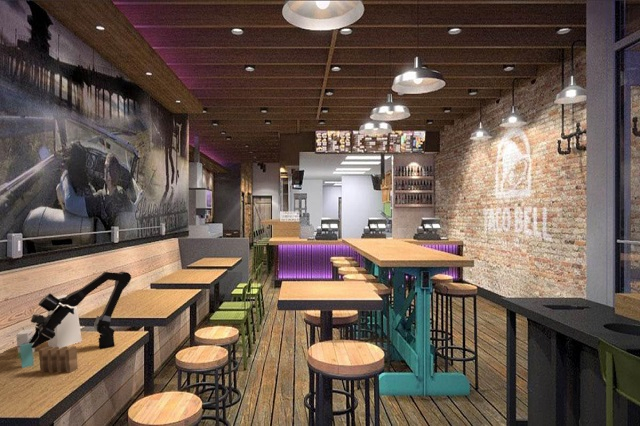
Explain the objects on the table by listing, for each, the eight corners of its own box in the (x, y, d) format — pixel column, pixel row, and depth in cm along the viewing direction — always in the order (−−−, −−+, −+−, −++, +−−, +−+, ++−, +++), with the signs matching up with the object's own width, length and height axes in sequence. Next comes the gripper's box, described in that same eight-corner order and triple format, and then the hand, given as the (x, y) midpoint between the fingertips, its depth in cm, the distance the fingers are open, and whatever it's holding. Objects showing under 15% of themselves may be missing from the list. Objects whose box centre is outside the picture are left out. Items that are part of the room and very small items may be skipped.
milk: (71, 339, 231) (68, 292, 231) (81, 341, 225) (78, 294, 224) (48, 345, 222) (44, 297, 221) (57, 348, 215) (53, 298, 215)
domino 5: (67, 372, 179) (65, 349, 179) (74, 368, 183) (72, 346, 183) (70, 372, 179) (68, 349, 179) (77, 368, 183) (76, 346, 183)
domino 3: (49, 372, 181) (47, 350, 180) (57, 368, 185) (55, 346, 185) (52, 372, 180) (50, 350, 180) (60, 368, 185) (58, 346, 185)
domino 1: (21, 366, 191) (19, 345, 191) (33, 364, 194) (31, 342, 193) (22, 367, 190) (20, 346, 189) (33, 365, 192) (31, 343, 192)
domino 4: (58, 372, 180) (56, 349, 180) (65, 368, 184) (64, 346, 184) (61, 372, 180) (59, 349, 179) (69, 368, 184) (67, 346, 184)
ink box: (29, 356, 205) (27, 332, 205) (17, 358, 204) (15, 334, 204) (35, 351, 213) (33, 328, 213) (23, 353, 212) (22, 330, 212)
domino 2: (40, 372, 181) (38, 350, 181) (48, 368, 186) (46, 346, 186) (43, 372, 181) (41, 350, 181) (51, 368, 185) (50, 346, 185)
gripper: (39, 304, 203) (13, 332, 196) (44, 310, 189) (16, 340, 182) (59, 317, 208) (34, 344, 201) (66, 323, 194) (39, 353, 187)
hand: (31, 345), depth 193 cm, fingers open, 9 cm apart
